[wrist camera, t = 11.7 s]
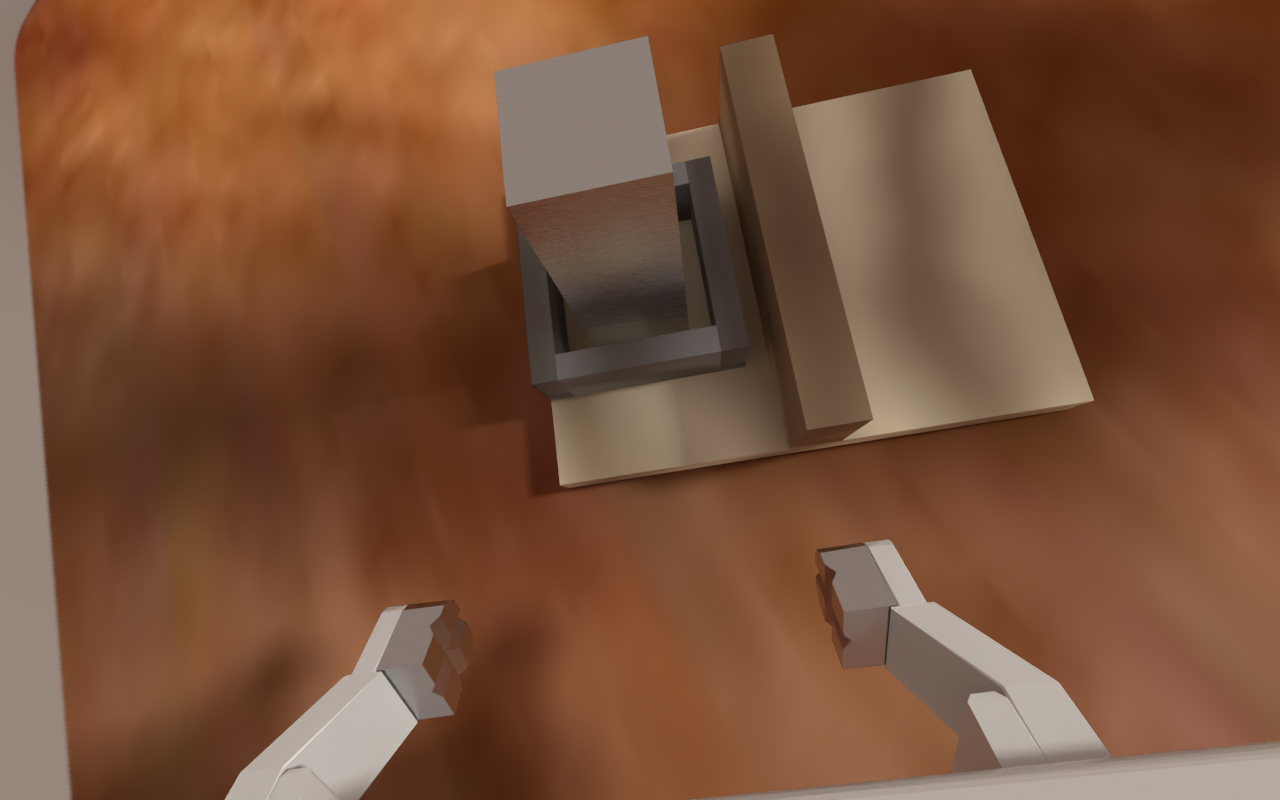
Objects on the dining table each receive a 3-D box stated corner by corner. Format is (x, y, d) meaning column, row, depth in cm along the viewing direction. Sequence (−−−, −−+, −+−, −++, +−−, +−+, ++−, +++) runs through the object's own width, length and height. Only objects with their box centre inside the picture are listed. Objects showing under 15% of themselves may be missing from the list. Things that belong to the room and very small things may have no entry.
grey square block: (674, 244, 23) (648, 35, 13) (689, 329, 22) (673, 171, 12) (584, 261, 23) (494, 71, 14) (594, 346, 22) (506, 207, 13)
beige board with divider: (955, 96, 24) (1023, -24, 19) (1067, 409, 21) (1190, 367, 15) (536, 185, 26) (493, 98, 21) (569, 488, 22) (526, 475, 17)
